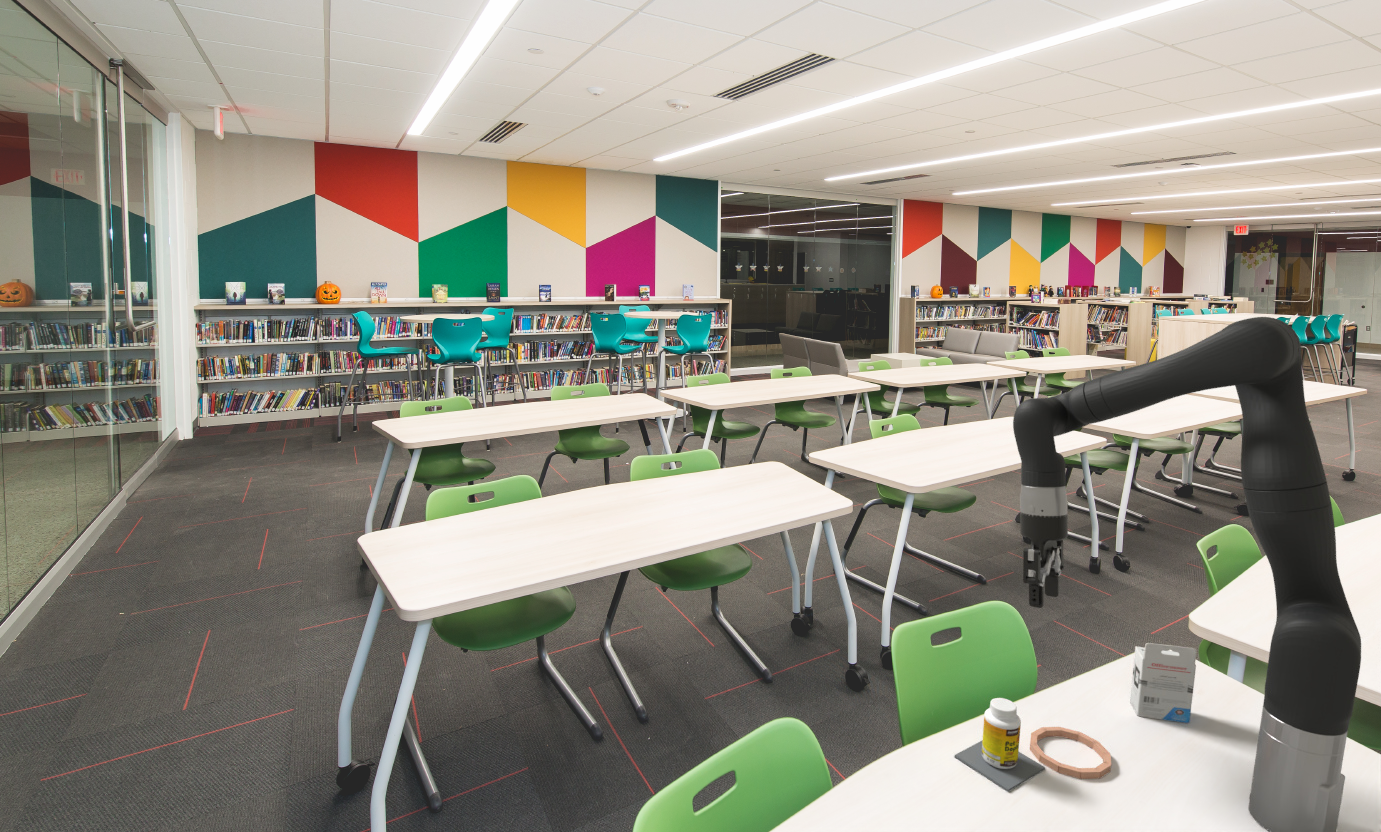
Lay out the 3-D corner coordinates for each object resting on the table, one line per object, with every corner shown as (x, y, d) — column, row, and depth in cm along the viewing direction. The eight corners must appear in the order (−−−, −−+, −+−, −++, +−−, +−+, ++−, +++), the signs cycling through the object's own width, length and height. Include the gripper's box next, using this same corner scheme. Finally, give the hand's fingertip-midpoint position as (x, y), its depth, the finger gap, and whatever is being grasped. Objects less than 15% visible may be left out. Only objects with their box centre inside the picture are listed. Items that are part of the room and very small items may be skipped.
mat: (1045, 769, 115) (1045, 767, 115) (1007, 791, 110) (1008, 789, 110) (991, 737, 123) (991, 735, 123) (954, 757, 118) (954, 754, 118)
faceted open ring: (1124, 761, 117) (1125, 755, 116) (1084, 788, 110) (1085, 781, 110) (1055, 725, 127) (1056, 719, 126) (1015, 747, 120) (1015, 741, 120)
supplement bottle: (1004, 775, 113) (1008, 718, 111) (974, 757, 117) (977, 701, 116) (1024, 762, 116) (1029, 706, 114) (994, 745, 120) (998, 691, 119)
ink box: (1180, 709, 131) (1188, 636, 129) (1190, 724, 127) (1199, 649, 124) (1128, 702, 134) (1136, 630, 131) (1136, 716, 129) (1144, 642, 127)
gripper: (1053, 518, 116) (1054, 615, 116) (1078, 507, 126) (1079, 596, 126) (1006, 514, 121) (1008, 606, 121) (1034, 503, 131) (1035, 589, 132)
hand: (1044, 601), depth 124 cm, fingers open, 8 cm apart
